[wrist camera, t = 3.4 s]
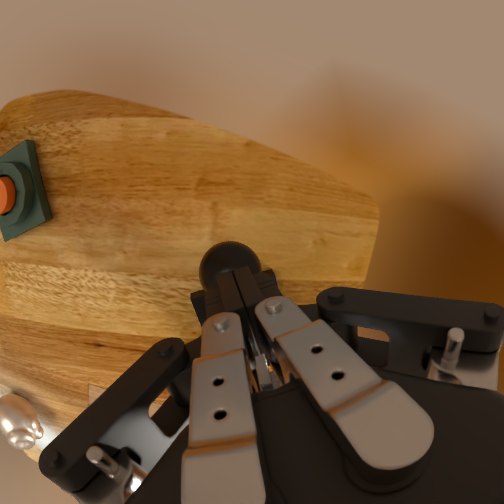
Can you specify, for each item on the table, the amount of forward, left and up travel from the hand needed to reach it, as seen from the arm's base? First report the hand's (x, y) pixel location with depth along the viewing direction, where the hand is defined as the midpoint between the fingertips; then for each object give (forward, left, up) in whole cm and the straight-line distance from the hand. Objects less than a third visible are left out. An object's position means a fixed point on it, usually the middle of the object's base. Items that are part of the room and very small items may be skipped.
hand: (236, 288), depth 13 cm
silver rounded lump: (+19, -41, -16) cm, 48 cm away
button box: (-10, -20, -15) cm, 27 cm away
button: (-10, -20, -12) cm, 26 cm away
